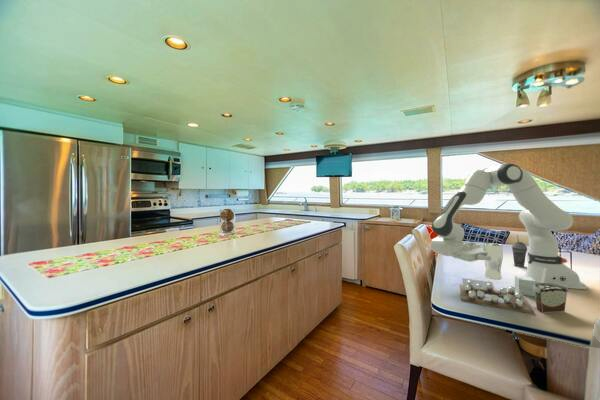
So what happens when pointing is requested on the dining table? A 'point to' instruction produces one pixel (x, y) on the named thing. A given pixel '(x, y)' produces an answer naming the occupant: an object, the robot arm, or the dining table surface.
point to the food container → (550, 297)
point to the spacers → (494, 297)
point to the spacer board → (500, 305)
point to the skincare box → (524, 285)
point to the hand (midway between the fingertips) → (495, 257)
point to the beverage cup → (519, 253)
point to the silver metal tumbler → (493, 260)
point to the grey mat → (483, 283)
